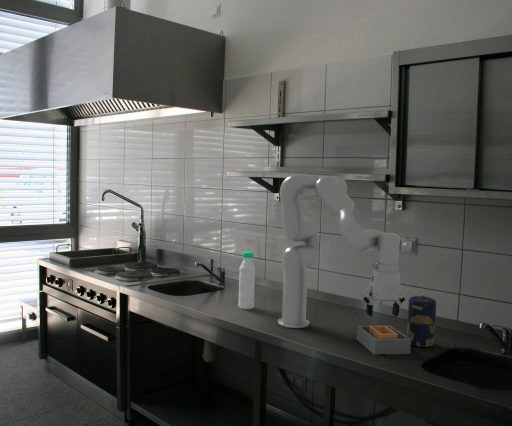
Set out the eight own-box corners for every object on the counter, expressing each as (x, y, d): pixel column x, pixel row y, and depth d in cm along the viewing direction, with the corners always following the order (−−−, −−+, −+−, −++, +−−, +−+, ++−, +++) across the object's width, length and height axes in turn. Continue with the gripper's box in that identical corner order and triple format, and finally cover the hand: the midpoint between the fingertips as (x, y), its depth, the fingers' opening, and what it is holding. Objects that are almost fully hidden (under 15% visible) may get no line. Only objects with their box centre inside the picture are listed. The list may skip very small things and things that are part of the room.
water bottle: (236, 308, 227) (238, 252, 225) (240, 305, 233) (242, 250, 232) (251, 310, 225) (253, 253, 223) (255, 306, 232) (257, 251, 230)
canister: (438, 344, 187) (441, 296, 186) (427, 350, 180) (430, 300, 178) (413, 338, 193) (416, 291, 192) (401, 344, 186) (404, 295, 185)
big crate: (356, 339, 189) (357, 326, 189) (389, 338, 192) (390, 325, 191) (374, 354, 174) (375, 340, 173) (410, 353, 176) (411, 339, 176)
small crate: (368, 339, 187) (368, 325, 187) (384, 339, 188) (385, 325, 188) (379, 348, 177) (380, 334, 177) (396, 348, 178) (397, 334, 178)
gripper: (367, 269, 175) (363, 318, 177) (414, 270, 179) (409, 318, 180) (359, 265, 183) (355, 312, 184) (404, 266, 186) (400, 312, 188)
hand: (382, 315), depth 182 cm, fingers open, 9 cm apart
